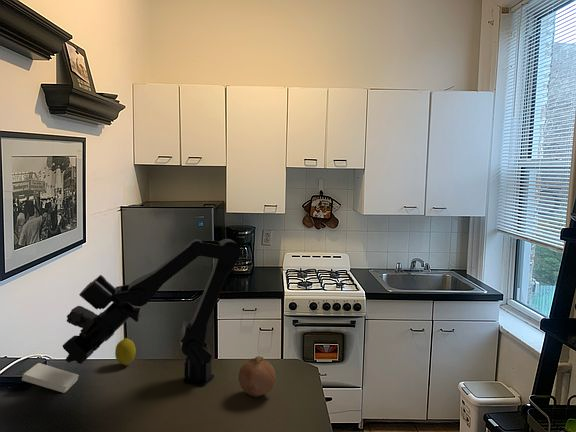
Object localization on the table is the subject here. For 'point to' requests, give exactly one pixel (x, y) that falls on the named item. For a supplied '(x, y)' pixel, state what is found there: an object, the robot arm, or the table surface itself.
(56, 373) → the tile
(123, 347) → the lemon
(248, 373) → the onion
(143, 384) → the table surface
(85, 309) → the robot arm
